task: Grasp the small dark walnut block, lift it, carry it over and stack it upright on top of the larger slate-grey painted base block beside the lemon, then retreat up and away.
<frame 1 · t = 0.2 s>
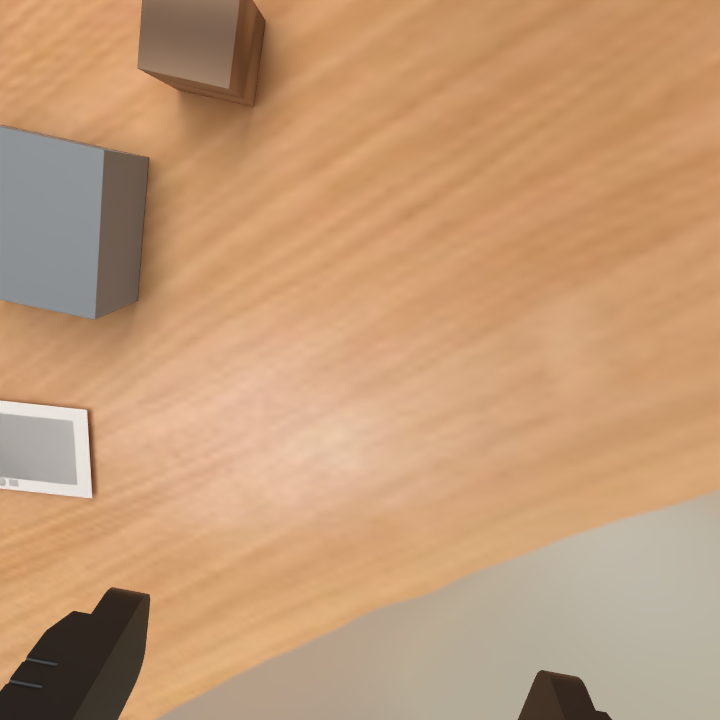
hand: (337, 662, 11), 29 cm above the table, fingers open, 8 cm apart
touchpad: (6, 438, 42), on the table
walnut block: (220, 56, 33), on the table
base block: (71, 216, 36), on the table
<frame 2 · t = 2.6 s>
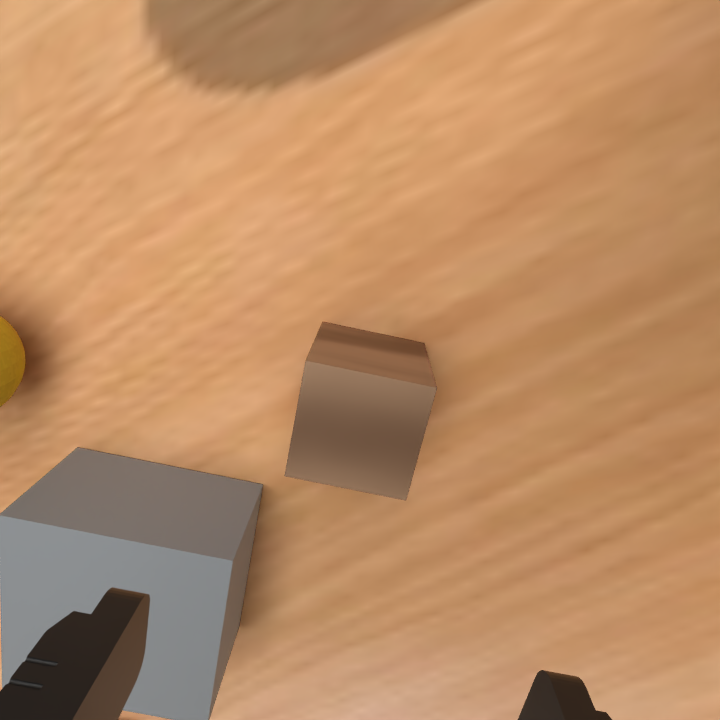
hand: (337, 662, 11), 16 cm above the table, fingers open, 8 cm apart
lemon: (7, 338, 26), on the table
walnut block: (362, 379, 26), on the table
base block: (163, 542, 29), on the table
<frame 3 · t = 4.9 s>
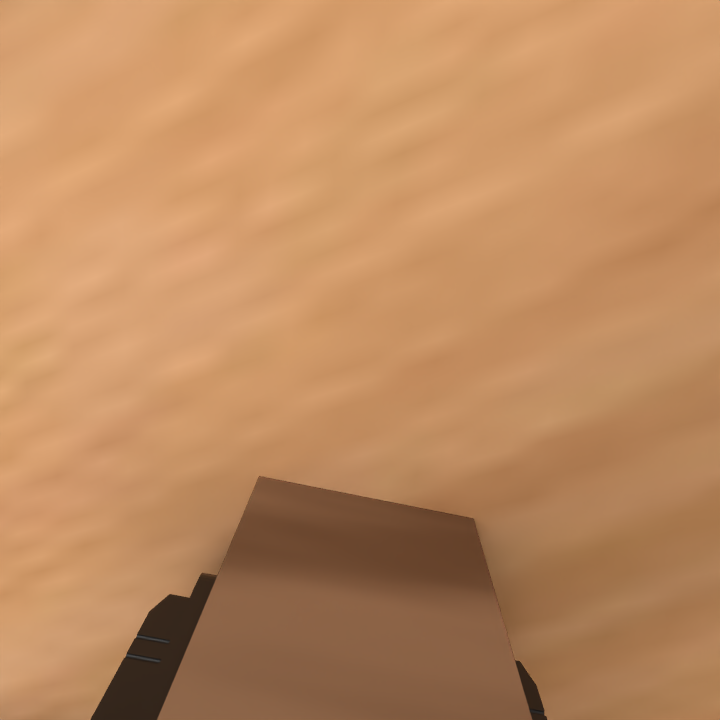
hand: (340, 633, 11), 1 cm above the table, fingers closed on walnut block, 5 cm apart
walnut block: (345, 584, 13), on the table, touching gripper
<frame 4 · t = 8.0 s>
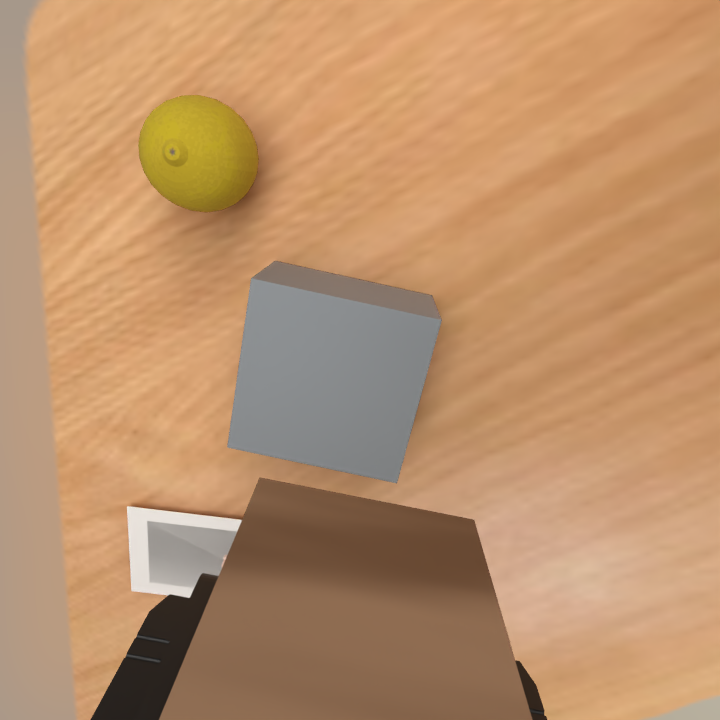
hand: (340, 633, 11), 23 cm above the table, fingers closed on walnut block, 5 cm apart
touchpad: (232, 550, 40), on the table
lemon: (226, 158, 31), on the table
walnut block: (346, 585, 13), point 22 cm above the table, touching gripper
base block: (338, 352, 34), on the table
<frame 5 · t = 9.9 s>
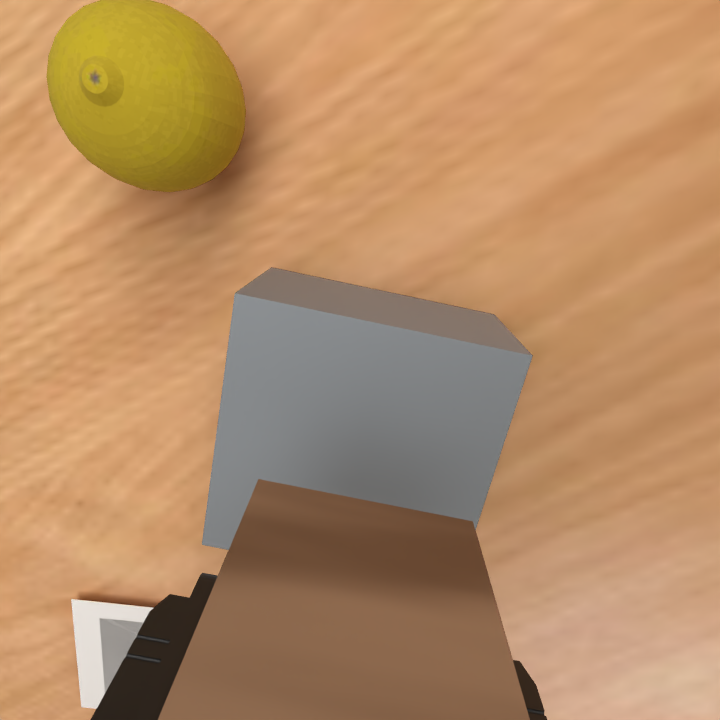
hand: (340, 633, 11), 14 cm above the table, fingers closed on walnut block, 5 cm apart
touchpad: (216, 649, 30), on the table
lemon: (199, 119, 21), on the table
walnut block: (345, 587, 13), point 12 cm above the table, touching gripper
base block: (360, 394, 24), on the table
when the fingers open (9 cm above the table, at t = 11.3 s): walnut block drops 1 cm, resting on base block.
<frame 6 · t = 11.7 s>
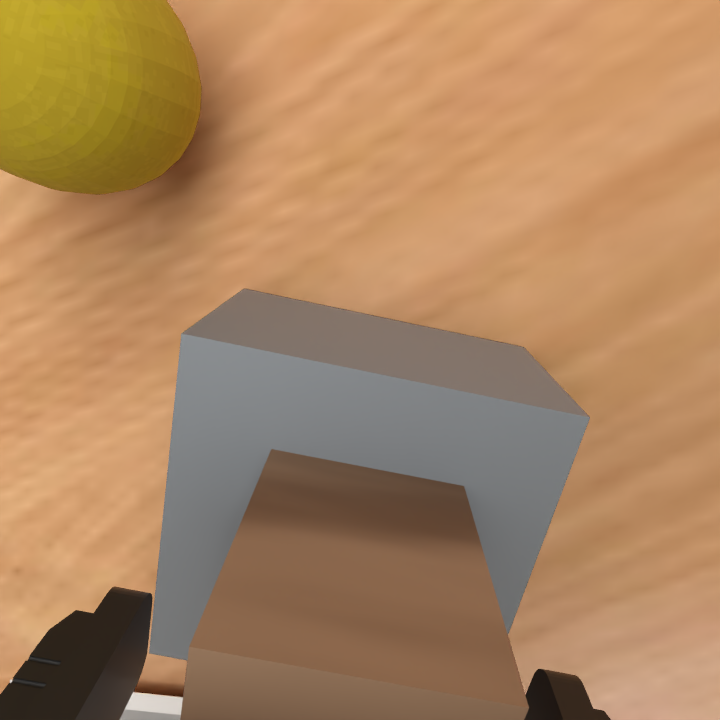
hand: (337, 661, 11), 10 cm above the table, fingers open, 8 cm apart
lemon: (149, 101, 16), on the table
walnut block: (349, 548, 14), point 6 cm above the table, touching base block
base block: (356, 444, 20), on the table
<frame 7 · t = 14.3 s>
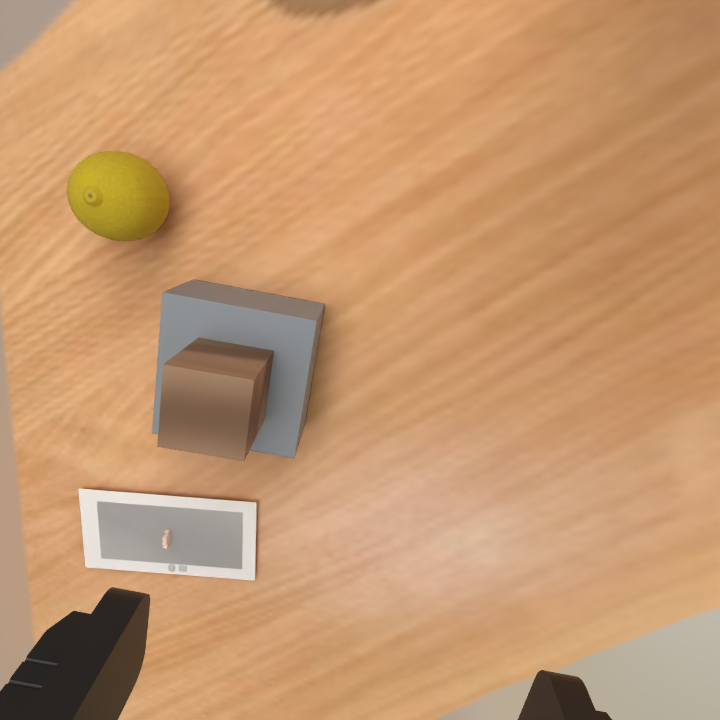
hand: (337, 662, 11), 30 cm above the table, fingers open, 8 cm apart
touchpad: (174, 526, 46), on the table
lemon: (148, 197, 37), on the table
walnut block: (232, 379, 35), point 6 cm above the table, touching base block
base block: (251, 354, 40), on the table
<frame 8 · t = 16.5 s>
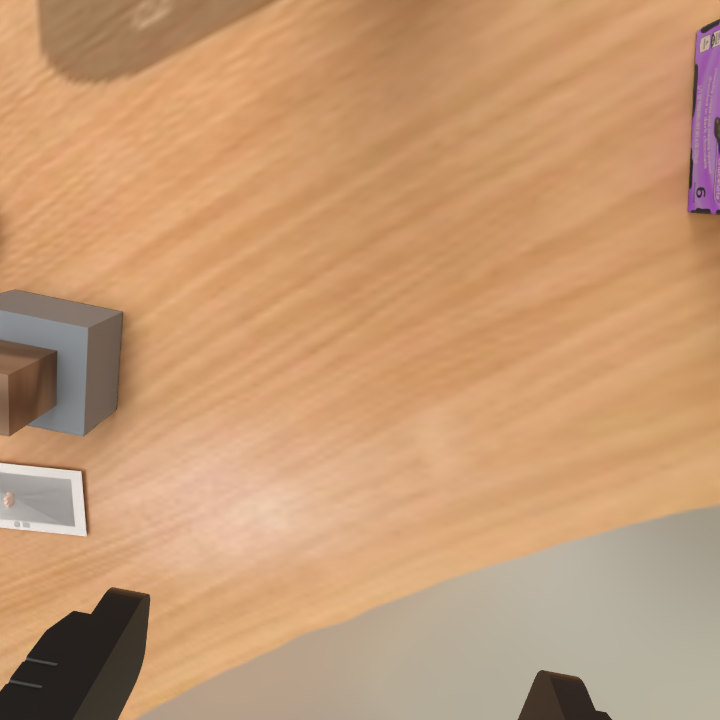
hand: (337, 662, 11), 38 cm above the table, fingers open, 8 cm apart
touchpad: (20, 490, 55), on the table
walnut block: (27, 372, 44), point 6 cm above the table, touching base block
base block: (67, 351, 49), on the table
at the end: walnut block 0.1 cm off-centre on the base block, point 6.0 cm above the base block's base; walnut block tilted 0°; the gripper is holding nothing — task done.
